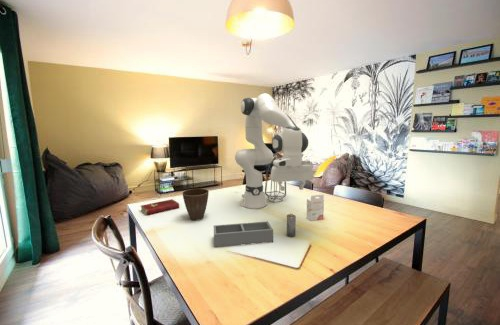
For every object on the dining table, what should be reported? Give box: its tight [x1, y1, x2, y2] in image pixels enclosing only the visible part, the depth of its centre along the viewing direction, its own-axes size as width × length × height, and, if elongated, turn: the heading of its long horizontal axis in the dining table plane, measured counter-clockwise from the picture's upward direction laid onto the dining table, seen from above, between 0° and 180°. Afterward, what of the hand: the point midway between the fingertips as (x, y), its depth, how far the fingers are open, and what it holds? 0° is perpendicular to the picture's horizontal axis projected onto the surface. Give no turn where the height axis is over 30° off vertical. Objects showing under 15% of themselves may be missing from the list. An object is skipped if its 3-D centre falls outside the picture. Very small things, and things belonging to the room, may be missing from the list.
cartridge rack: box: [213, 220, 274, 248], centre depth 111 cm, size 10×27×6 cm, turn 100°
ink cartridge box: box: [306, 194, 325, 222], centre depth 135 cm, size 9×5×15 cm, turn 105°
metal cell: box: [285, 213, 297, 238], centre depth 115 cm, size 4×4×11 cm
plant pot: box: [182, 188, 210, 221], centre depth 137 cm, size 15×15×16 cm
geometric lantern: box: [264, 152, 287, 203], centre depth 170 cm, size 16×16×35 cm
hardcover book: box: [140, 198, 180, 217], centre depth 154 cm, size 12×21×4 cm, turn 130°
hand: (291, 189), depth 112 cm, fingers open, 8 cm apart
